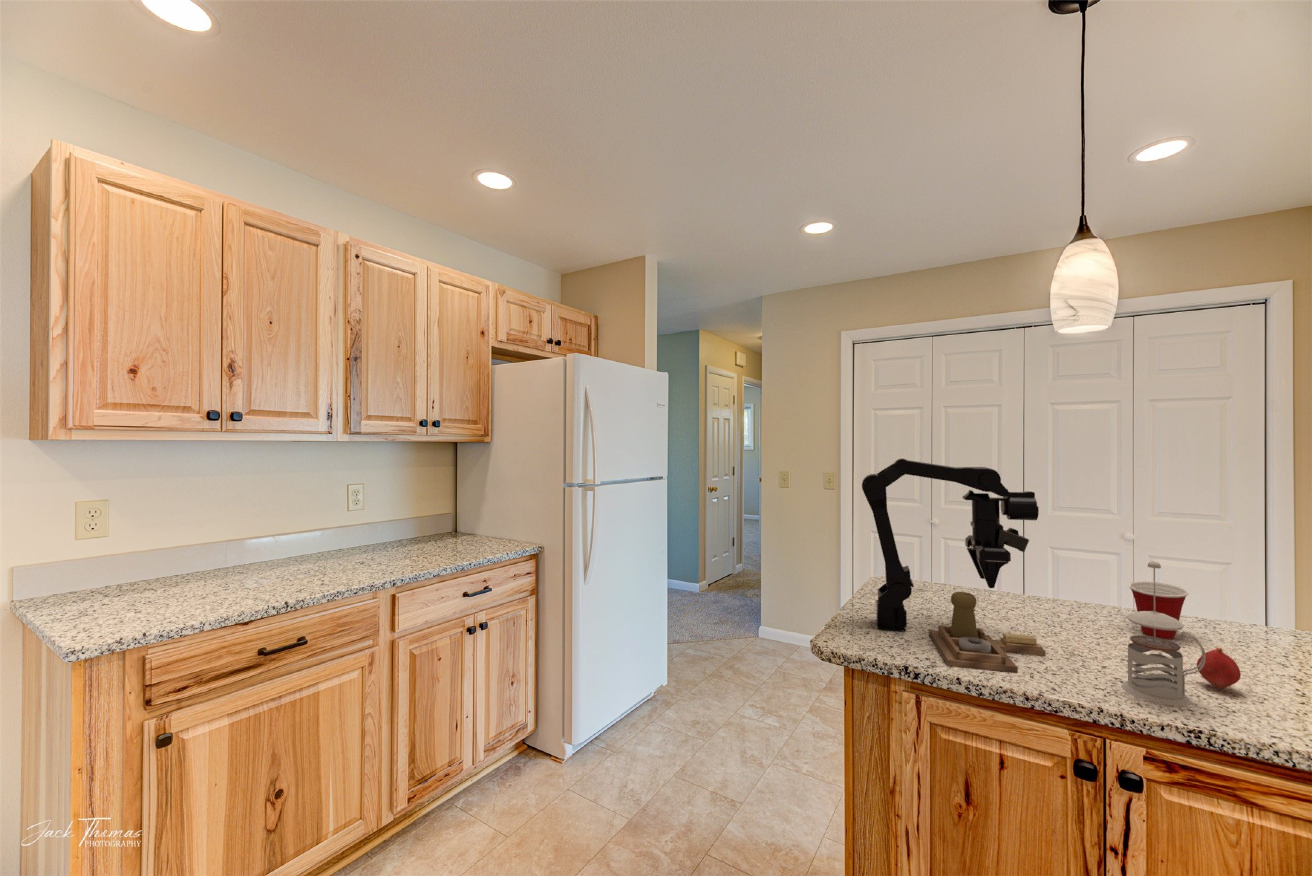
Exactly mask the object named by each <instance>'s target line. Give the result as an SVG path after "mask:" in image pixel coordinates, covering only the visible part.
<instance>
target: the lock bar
mask: <svg viewBox="0 0 1312 876" xmlns="http://www.w3.org/2000/svg"><path fill="white" fill-rule="evenodd" d="M1002 638H1003V642H1004V644H1005V645H1006V643H1011V644H1022V645H1033V646H1037V644H1038V643H1037V638H1036V637H1035V636H1034V635H1031V634H1030V635H1029V634H1017V633H1006V632H1005V633H1004V632H1003V633H1002Z"/></svg>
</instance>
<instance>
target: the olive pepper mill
mask: <svg viewBox="0 0 1312 876" xmlns="http://www.w3.org/2000/svg"><path fill="white" fill-rule="evenodd" d="M950 602H951V604H952V606H953V610H952V617H951V623H950V626H951V630H950V637H952V638H962V637H975V638H978V633H977V628H978V627H977V622H976V615H975V607H976V606H977V598H976V596H975V595H974V594H972V593H971V592H966V591H954V592H953V593H952V594H951V596H950Z"/></svg>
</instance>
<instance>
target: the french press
mask: <svg viewBox="0 0 1312 876" xmlns="http://www.w3.org/2000/svg"><path fill="white" fill-rule="evenodd" d="M1147 568H1151V569H1153V582H1154V611H1139V612H1137V611H1134V612H1132V613H1129V614H1127V615H1126V617H1125V618H1126V619H1127V621H1129V622H1131V623H1132V624H1134V625H1137V626H1140V627H1141V626H1144V627H1149V628H1154V637H1153V636H1152V637H1151V636H1147V635H1145V634H1143V635H1142V634H1141V635H1138V634H1137V635H1131V636H1130V637H1129V640H1130V641H1131V642H1130V643H1128V644H1127V680H1126V681H1124V682H1123V683H1122V684H1121V685H1120V687H1121V688H1122V689H1123V691H1125V692H1126V693H1129V694H1130V695H1132V696H1133V697H1136V698H1138V699H1141V700H1145V701H1148V702H1152V703H1155V704H1159V705H1160V704H1161V705H1165V706H1172V707H1173V706H1176V707H1184V706H1189V705H1191V703H1192V700H1191V699H1190V698H1189V697H1188V696H1187V694H1185V693H1186V691H1185V690H1186V687H1185V686H1186V684H1185V683H1186V676H1187V675H1188V676H1189V675H1193V674H1196V673H1199V671H1200V670H1201V669H1202V668H1203V667H1204V664H1205V661H1206V654H1205V653H1206V651H1205V649H1204V648H1203V645H1202V644H1201V642H1200V640H1199V639H1198V638H1196V637H1195V636H1193V635H1192V634H1190V633H1189V632H1188V631H1187V632H1186V631H1182V632H1180V636H1181V638H1180V639H1181V641H1183V642H1184V641H1185V637H1188V638H1190V639H1192V640H1193V641H1194V642H1196V643H1197V644H1198V646H1199V647H1200V650H1201V656H1202V660H1201V662H1200V663H1199V665H1198V666H1197V665H1196V666H1195V667H1193V668H1189V669H1185V670H1184V656H1183V654H1182V653H1181V651H1180V650H1181V648H1182V646H1181V645H1180V644H1179V643H1176V642H1174V641H1171V639H1169V640H1167V639H1162V638H1161V639H1160V638H1157V637H1155V629H1161V630H1176V631H1181V630H1183V628H1184V627H1185V624H1184V623H1182V622H1181V621H1180V620H1179V621H1178V620H1177V619H1175V618H1172V617H1170V616H1168V615H1165V614H1163V613H1158V612H1156V611H1155V582H1156V569H1162V566H1161V563H1159V562H1158V561H1155V560H1152V561H1151V560H1150V561H1148V563H1147ZM1151 651H1153V652H1154V651H1157V652H1158V651H1159V652H1162V653H1165V654H1166V655H1169V656H1170V657H1168V656H1166V655H1163V654H1161V653H1150V654H1147V652H1151ZM1133 662H1134V663H1133ZM1202 662H1203V664H1202ZM1201 664H1202V665H1201ZM1148 665H1161V666H1151V667H1145V666H1148ZM1200 666H1201V667H1200ZM1199 667H1200V668H1199ZM1197 668H1199V669H1197ZM1153 671H1158V672H1162V673H1154V672H1153ZM1191 671H1192V672H1191ZM1147 672H1153V673H1147ZM1143 673H1147V674H1143Z"/></svg>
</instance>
